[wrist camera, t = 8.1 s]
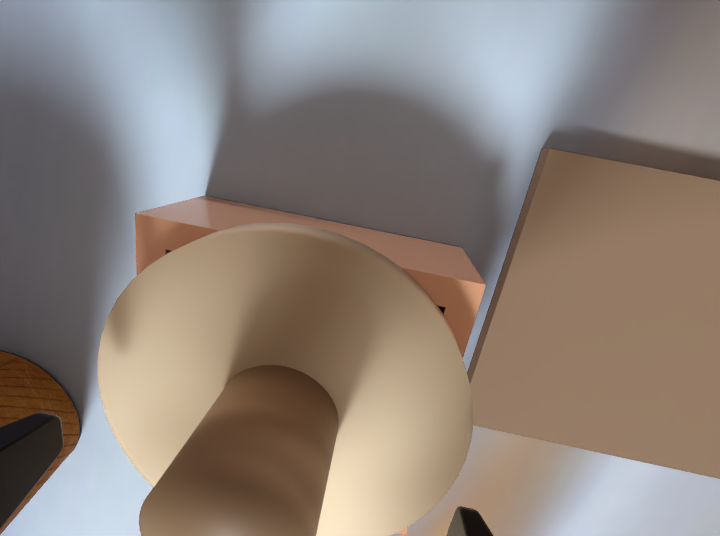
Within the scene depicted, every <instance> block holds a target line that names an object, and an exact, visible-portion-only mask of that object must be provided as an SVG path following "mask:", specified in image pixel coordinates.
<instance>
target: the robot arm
mask: <svg viewBox="0 0 720 536" xmlns="http://www.w3.org/2000/svg"><path fill="white" fill-rule="evenodd" d="M63 444H64V440H63V432H62V423H61V419H60V417H59V416H57V415H53V414H49V413H44V412H39V413H35V414H33V415H30V416H27V417H25V418H22V419H20V420H17V421H15V422H12V423H9V424H7V425H4V426H2V427H0V529H1V528H2V526H3V525H4V524H5V523H6V522H7V520H8V519H9V518H10V517H11V516H12V514H13V513H14V512H15V511H16V509H17V508H18V507H19V505H20V504H21V503H22V502H23V500H24V499H25V498H26V497H27V495H28V494H29V493H30V491H31V490H32V489H33V488H34V486H35V485H36V484H37V483H38V481H39V480H40V479H41V477H42V476H43V475H44V474H45V472H46V471H47V470H48V469H49V467H50V466H51V465H52V463H53V462H54V461H55V460H56V458H57V457H58V456H59V454H60V452H61V451H62V448H63ZM447 536H493V534H492V533H491V531H490V529H489V528H488V526H487V525H486V523H485V521H484V520H483V518H482V517H481V515H480V514H479V512H478V511H476V510H474V509H471V508H466V507H462V506H459V507H458V508H457V509H456V511H455V513H454V516H453V519H452V521H451V524H450V527H449V529H448V533H447Z"/></svg>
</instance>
